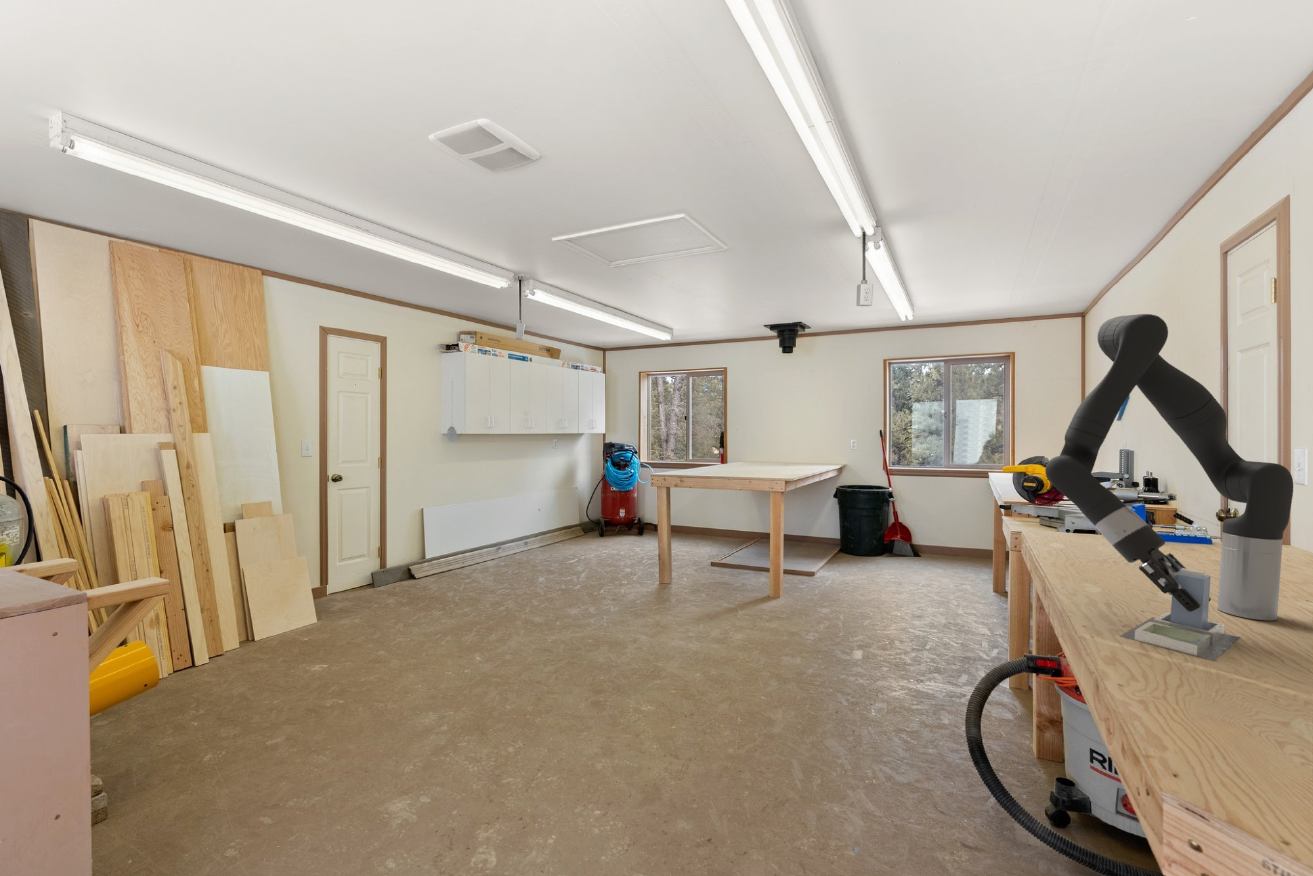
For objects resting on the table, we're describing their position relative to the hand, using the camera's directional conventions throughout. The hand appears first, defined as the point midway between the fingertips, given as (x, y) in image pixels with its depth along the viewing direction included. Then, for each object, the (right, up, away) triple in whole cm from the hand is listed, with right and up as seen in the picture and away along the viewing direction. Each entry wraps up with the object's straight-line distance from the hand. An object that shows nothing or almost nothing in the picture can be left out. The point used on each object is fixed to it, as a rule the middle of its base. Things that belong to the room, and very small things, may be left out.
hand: (1200, 606), depth 112 cm
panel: (-6, -6, -2) cm, 8 cm away
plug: (-1, -5, +1) cm, 6 cm away
